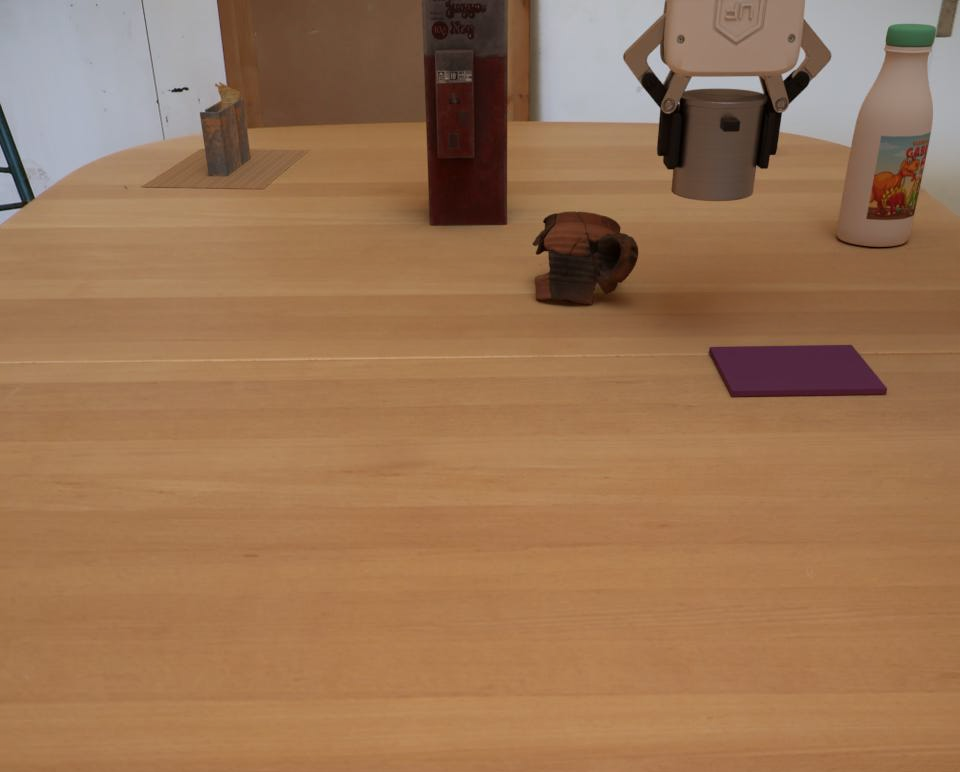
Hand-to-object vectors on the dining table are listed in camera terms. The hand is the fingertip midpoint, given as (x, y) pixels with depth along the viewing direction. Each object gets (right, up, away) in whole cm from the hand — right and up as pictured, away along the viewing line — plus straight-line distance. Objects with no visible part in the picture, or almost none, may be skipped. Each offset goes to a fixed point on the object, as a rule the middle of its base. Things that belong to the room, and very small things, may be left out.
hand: (714, 163), depth 91 cm
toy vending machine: (-20, +14, +41) cm, 48 cm away
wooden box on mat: (-54, +31, +65) cm, 90 cm away
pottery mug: (-9, -4, +17) cm, 20 cm away
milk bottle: (+24, +7, +32) cm, 41 cm away
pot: (0, -2, +1) cm, 2 cm away
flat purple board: (+6, -17, 0) cm, 18 cm away
